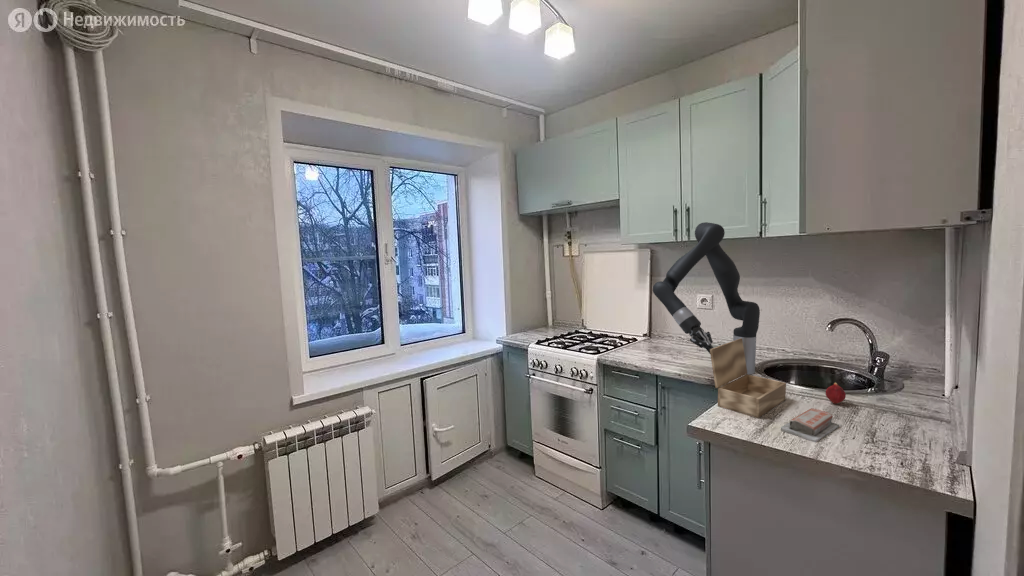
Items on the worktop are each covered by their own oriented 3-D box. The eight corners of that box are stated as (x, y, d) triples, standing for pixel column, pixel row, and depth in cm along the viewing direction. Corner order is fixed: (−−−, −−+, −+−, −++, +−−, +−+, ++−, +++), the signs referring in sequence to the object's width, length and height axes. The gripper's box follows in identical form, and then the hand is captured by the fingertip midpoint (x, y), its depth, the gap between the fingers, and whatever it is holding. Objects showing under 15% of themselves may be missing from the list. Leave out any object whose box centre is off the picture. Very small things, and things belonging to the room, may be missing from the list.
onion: (849, 406, 148) (850, 384, 147) (835, 407, 147) (837, 386, 146) (834, 400, 154) (835, 379, 153) (821, 401, 153) (822, 380, 152)
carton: (717, 406, 151) (718, 388, 150) (746, 390, 165) (746, 374, 165) (758, 418, 140) (759, 399, 139) (785, 400, 154) (786, 383, 153)
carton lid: (717, 388, 150) (715, 387, 151) (747, 373, 165) (745, 373, 166) (711, 349, 150) (709, 349, 151) (742, 338, 165) (739, 338, 166)
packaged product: (805, 404, 140) (840, 414, 132) (804, 417, 141) (839, 428, 132) (780, 417, 130) (816, 429, 122) (779, 431, 131) (815, 444, 123)
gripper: (683, 316, 164) (713, 352, 156) (700, 312, 172) (729, 346, 164) (671, 327, 169) (699, 362, 161) (688, 323, 177) (716, 356, 169)
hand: (714, 354), depth 162 cm, fingers closed
